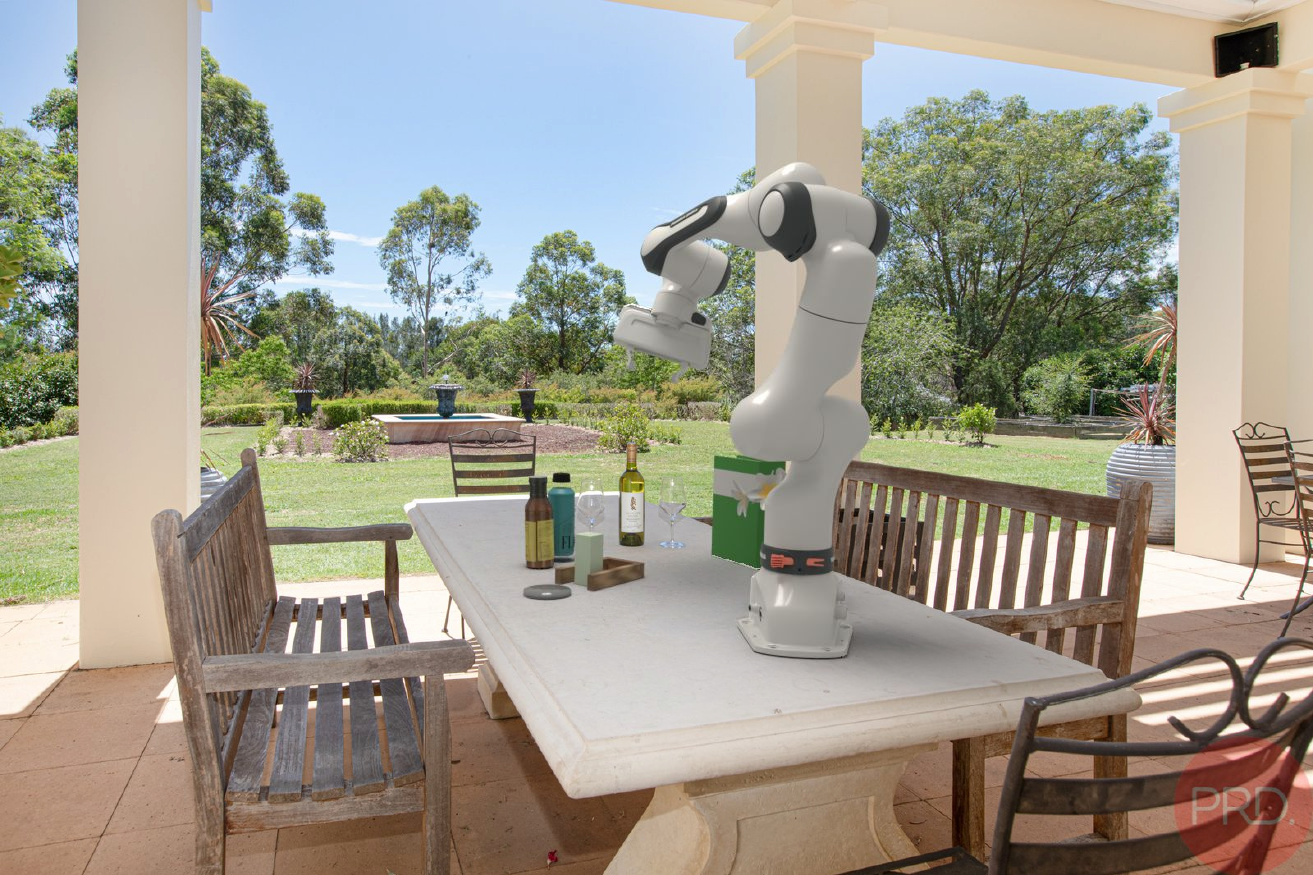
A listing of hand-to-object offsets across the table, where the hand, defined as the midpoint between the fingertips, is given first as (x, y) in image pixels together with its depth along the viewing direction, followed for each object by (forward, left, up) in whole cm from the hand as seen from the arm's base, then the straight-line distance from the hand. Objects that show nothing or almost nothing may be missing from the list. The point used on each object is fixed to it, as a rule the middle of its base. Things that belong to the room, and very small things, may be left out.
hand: (651, 375), depth 173 cm
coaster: (-16, +17, -42) cm, 48 cm away
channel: (-3, +10, -42) cm, 43 cm away
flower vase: (-13, -26, -42) cm, 52 cm away
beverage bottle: (+16, +22, -42) cm, 50 cm away
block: (-6, +11, -42) cm, 44 cm away
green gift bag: (+24, -20, -42) cm, 53 cm away
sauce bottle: (+8, +25, -42) cm, 49 cm away
